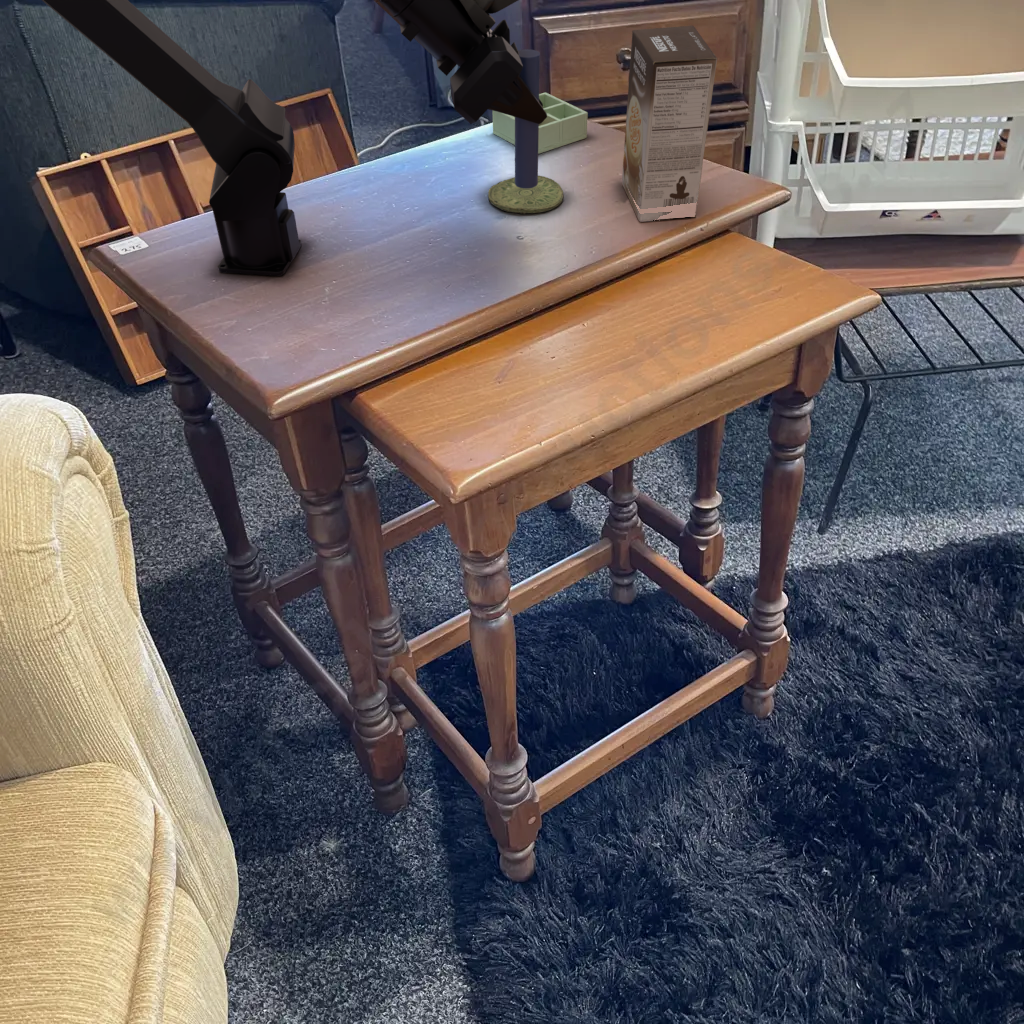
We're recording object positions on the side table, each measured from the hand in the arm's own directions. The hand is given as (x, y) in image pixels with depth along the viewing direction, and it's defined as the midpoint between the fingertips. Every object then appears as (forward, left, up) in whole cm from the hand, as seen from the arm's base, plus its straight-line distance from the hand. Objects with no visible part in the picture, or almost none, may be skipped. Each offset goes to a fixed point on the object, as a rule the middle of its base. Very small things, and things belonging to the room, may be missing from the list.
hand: (541, 114), depth 90 cm
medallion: (-3, +8, -12) cm, 15 cm away
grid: (-3, +25, -12) cm, 28 cm away
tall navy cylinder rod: (-1, 0, -7) cm, 7 cm away
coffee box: (+11, +9, -12) cm, 19 cm away
